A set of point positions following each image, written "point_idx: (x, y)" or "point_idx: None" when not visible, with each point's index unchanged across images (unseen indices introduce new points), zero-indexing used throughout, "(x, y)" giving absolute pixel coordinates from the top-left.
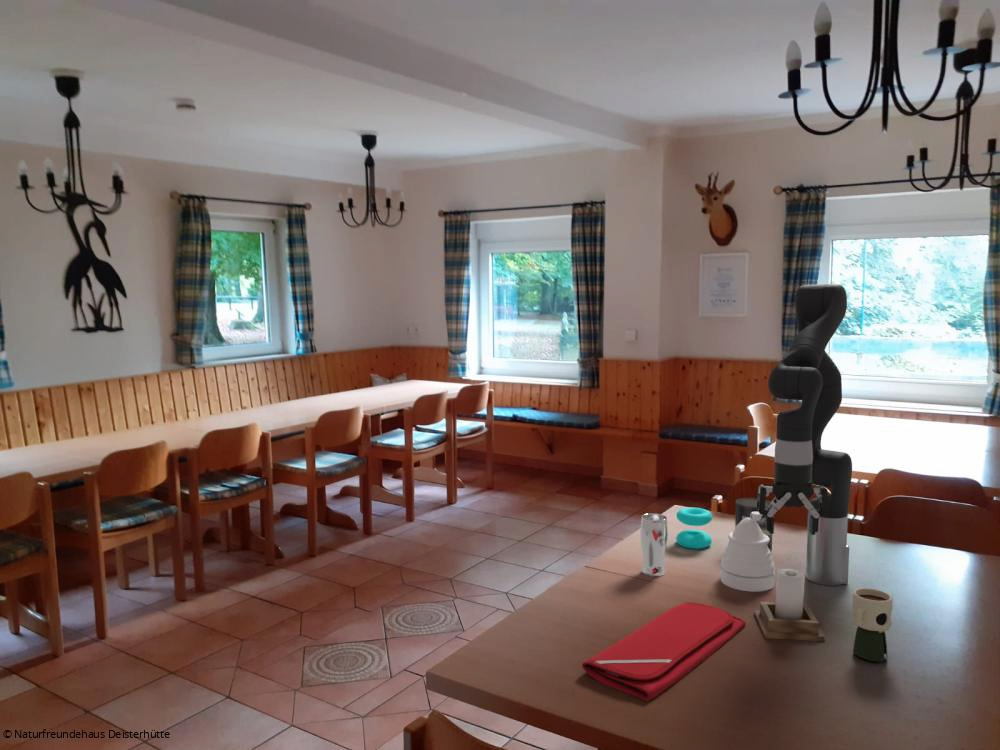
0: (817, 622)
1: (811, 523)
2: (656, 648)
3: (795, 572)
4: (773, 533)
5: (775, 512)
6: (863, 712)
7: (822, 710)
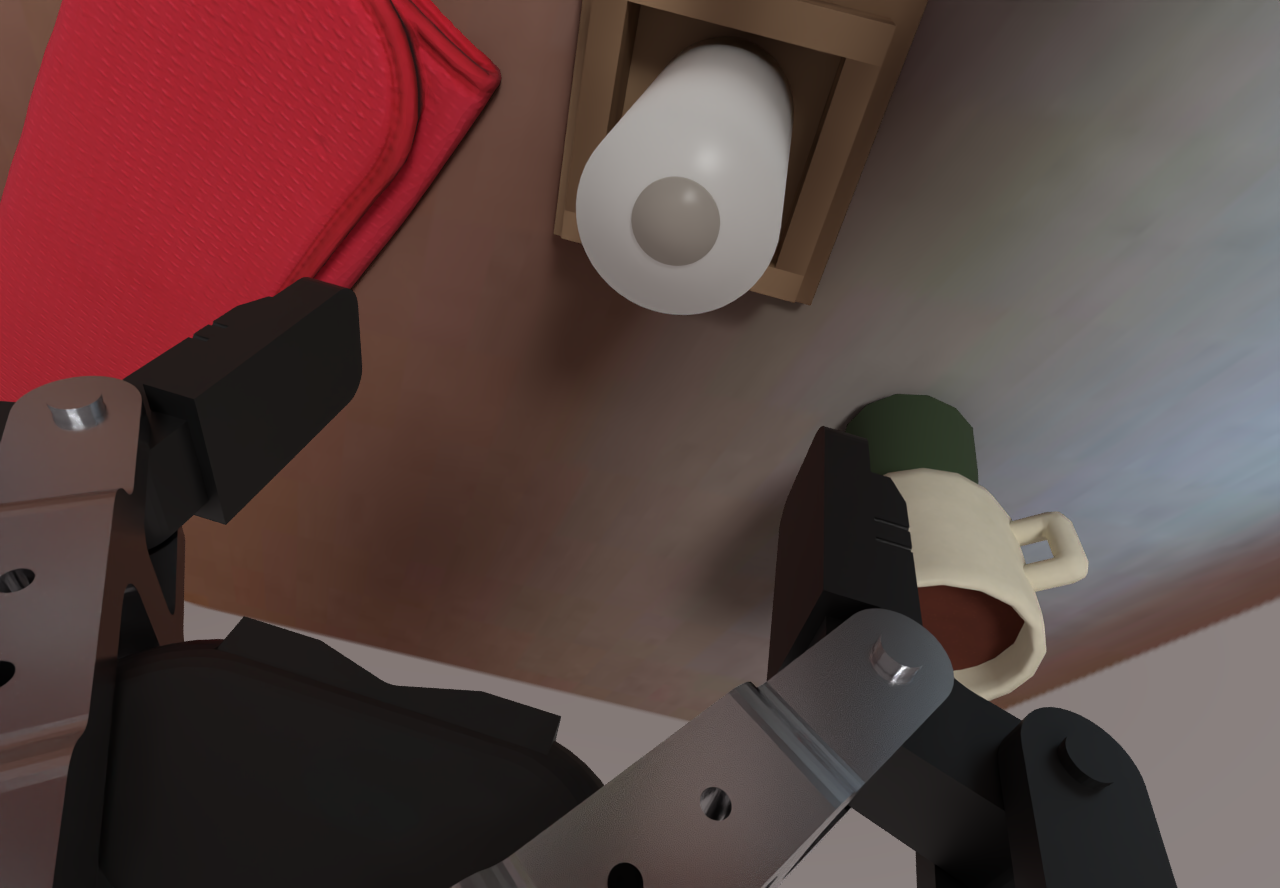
0: (789, 297)
1: (785, 594)
2: (116, 361)
3: (719, 214)
4: (355, 390)
5: (180, 597)
6: (661, 643)
7: (567, 616)
